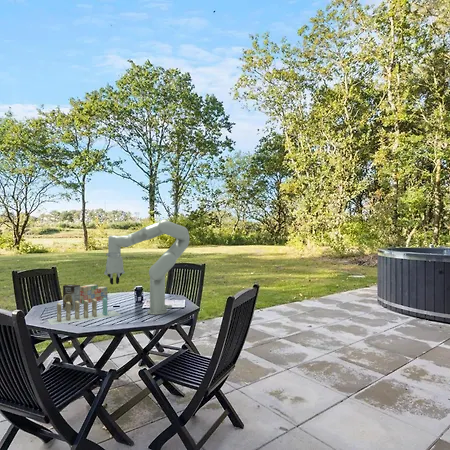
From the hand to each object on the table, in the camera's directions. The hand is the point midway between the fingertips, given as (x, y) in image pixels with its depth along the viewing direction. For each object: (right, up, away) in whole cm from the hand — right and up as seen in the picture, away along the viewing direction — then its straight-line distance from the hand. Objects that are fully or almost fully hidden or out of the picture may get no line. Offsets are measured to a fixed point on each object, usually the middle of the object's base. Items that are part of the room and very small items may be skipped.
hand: (114, 283), depth 230 cm
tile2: (-10, -19, -7) cm, 23 cm away
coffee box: (-33, -20, +14) cm, 41 cm away
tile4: (-19, -19, -13) cm, 29 cm away
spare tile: (-5, -19, -3) cm, 20 cm away
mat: (-15, -19, -10) cm, 26 cm away
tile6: (-27, -19, -18) cm, 38 cm away
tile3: (-15, -19, -10) cm, 26 cm away
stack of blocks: (-28, -20, +40) cm, 53 cm away
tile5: (-23, -19, -15) cm, 33 cm away
